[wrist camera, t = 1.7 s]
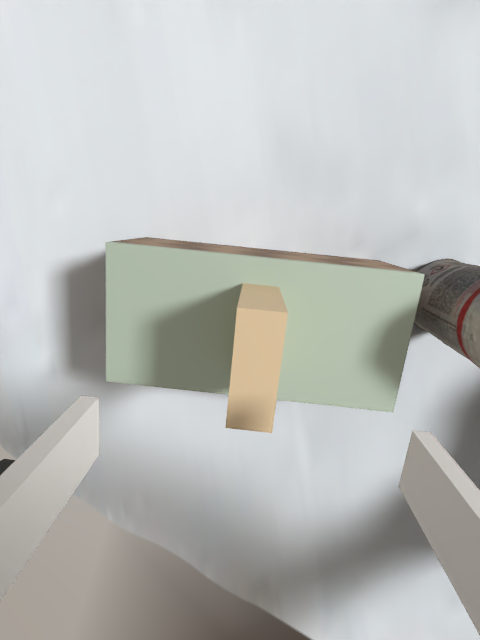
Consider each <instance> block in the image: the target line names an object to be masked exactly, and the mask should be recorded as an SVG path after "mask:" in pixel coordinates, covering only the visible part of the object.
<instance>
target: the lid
mask: <svg viewBox="0 0 480 640" xmlns="http://www.w3.org/2000/svg"><path fill="white" fill-rule="evenodd" d="M424 276H425V274H422V273H418V272H409V271H399V270H389V269H379V268H369V267H359V266H349V265H339V264H329V263H319V262H309V261H299V260H289V259H279V258H269V257H259V256H249V255H239V254H229V253H219V252H209V251H199V250H189V249H179V248H169V247H159V246H149V245H139V244H129V243H120V242H106V381H107V382H116V383H126V384H135V385H144V386H154V387H163V388H172V389H181V390H191V391H200V392H209V393H218V394H228V395H229V398H228V408H227V419H226V428H232V429H241V430H250V431H259V432H268V433H272V429H273V421H274V414H275V406H276V400H283V401H293V402H302V403H311V404H321V405H330V406H339V407H348V408H358V409H367V410H376V411H386V412H393V411H394V407H395V402H396V398H397V394H398V389H399V385H400V381H401V376H402V372H403V367H404V363H405V359H406V354H407V350H408V346H409V341H410V337H411V333H412V328H413V324H414V319H415V315H416V311H417V306H418V302H419V298H420V293H421V289H422V285H423V280H424Z"/></svg>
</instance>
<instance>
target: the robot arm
mask: <svg viewBox="0 0 480 640" xmlns="http://www.w3.org/2000/svg"><path fill="white" fill-rule="evenodd" d="M98 456H99V397H89V396H80V397H79V398H78V399H77V400H76V401H75V402H74V403H73V404H72V405H71V406H70V407H69V408H68V409H67V410H66V411H65V412H64V413H63V414H62V415H61V416H60V417H59V418H58V419H57V420H56V421H55V422H54V423H53V424H52V425H51V426H50V427H49V428H48V429H47V430H46V431H45V432H44V433H43V434H42V435H41V436H40V437H39V438H38V439H37V440H36V441H35V442H34V443H33V444H32V445H31V446H30V447H29V448H27V449H26V450H25V451H24V452H23V453H22V454H21V455H20V456H19V457H18V458H17V459H16V460H9V459H3V460H2V461H0V602H1V600H2V598H3V597H4V596H5V594H6V593H7V591H8V589H9V588H10V587H11V585H12V584H13V582H14V581H15V579H16V578H17V576H18V575H19V573H20V572H21V570H22V569H23V567H24V566H25V564H26V563H27V561H28V560H29V558H30V557H31V555H32V554H33V552H34V551H35V549H36V548H37V546H38V545H39V543H40V542H41V540H42V539H43V537H44V536H45V534H46V533H47V531H48V530H49V528H50V527H51V525H52V524H53V522H54V521H55V519H56V518H57V517H58V515H59V513H60V512H61V511H62V509H63V508H64V506H65V505H66V503H67V502H68V500H69V499H70V497H71V496H72V494H73V493H74V491H75V490H76V488H77V487H78V485H79V484H80V482H81V481H82V479H83V478H84V476H85V475H86V473H87V472H88V470H89V469H90V467H91V466H92V464H93V463H94V461H95V460H96V459H97V457H98ZM399 488H400V490H401V492H402V494H403V495H404V497H405V499H406V501H407V503H408V505H409V506H410V508H411V510H412V512H413V514H414V516H415V518H416V519H417V521H418V523H419V525H420V527H421V529H422V530H423V532H424V534H425V536H426V538H427V540H428V541H429V543H430V545H431V547H432V549H433V551H434V552H435V554H436V556H437V558H438V560H439V562H440V563H441V565H442V567H443V569H444V571H445V573H446V574H447V576H448V578H449V580H450V582H451V584H452V585H453V587H454V589H455V591H456V593H457V595H458V596H459V598H460V600H461V602H462V604H463V606H464V607H465V609H466V611H467V613H468V615H469V617H470V618H471V620H472V622H473V624H474V626H475V628H476V629H477V631H478V633H479V635H480V490H479V489H478V488H477V487H476V485H475V484H474V483H473V482H472V481H471V479H470V478H469V477H468V476H467V475H466V474H465V472H464V471H463V470H462V469H461V468H460V466H459V465H458V464H457V463H456V462H455V460H454V459H453V458H452V457H451V456H450V454H449V453H448V452H447V451H446V450H445V449H444V447H443V446H442V445H441V444H440V443H439V441H438V440H437V439H436V438H435V437H434V435H433V434H432V433H431V432H421V431H412V435H411V439H410V443H409V447H408V451H407V455H406V459H405V463H404V467H403V471H402V475H401V479H400V483H399Z"/></svg>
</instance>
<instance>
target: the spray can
mask: <svg viewBox="0 0 480 640" xmlns="http://www.w3.org/2000/svg"><path fill="white" fill-rule="evenodd" d="M416 272H418V273H422V274H425V276H424V280H423V285H422V289H421V293H420V298H419V302H418V306H417V311H416V315H415V319H414V323H415V324H416V325H418V326H419V327H420V328H421V329H422V330H426V331H428V332H429V333H431V334H432V335H433V336H435V337H436V338H438V339H439V340H441V341H442V342H443V343H444V344H446V345H448V346H450V347H451V348H452V349H454V350H455V351H457V352H458V353H460V354H461V355H463V356H464V357H466V358H468V359H469V360H471V361H472V362H473V363H474V364H475V365H477V366H478V367H479V368H480V266H477V265H470V264H465V263H461V262H459V261H456V260H453V259H443V260H437V261H435V262H432V263H430V264H428V265H426V266H425V267H423V268H421V269H419V270H418V271H416Z"/></svg>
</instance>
